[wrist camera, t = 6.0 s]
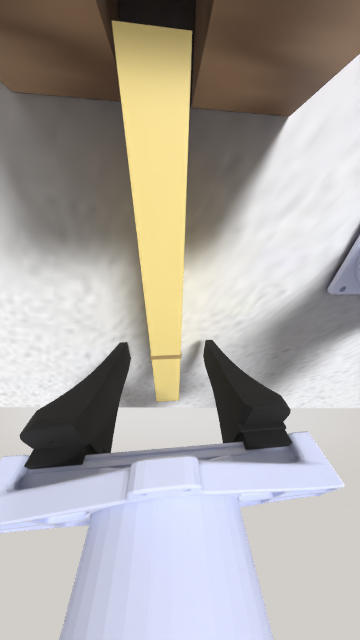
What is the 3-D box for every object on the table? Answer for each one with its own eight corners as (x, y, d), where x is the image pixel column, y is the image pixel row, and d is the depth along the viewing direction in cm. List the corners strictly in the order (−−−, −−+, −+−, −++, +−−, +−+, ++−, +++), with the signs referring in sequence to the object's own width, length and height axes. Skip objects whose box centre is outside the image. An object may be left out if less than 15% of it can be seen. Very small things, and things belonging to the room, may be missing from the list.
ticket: (178, 148, 8) (194, 30, 3) (175, 347, 15) (179, 400, 11) (144, 146, 7) (109, 19, 3) (159, 347, 15) (156, 401, 10)
